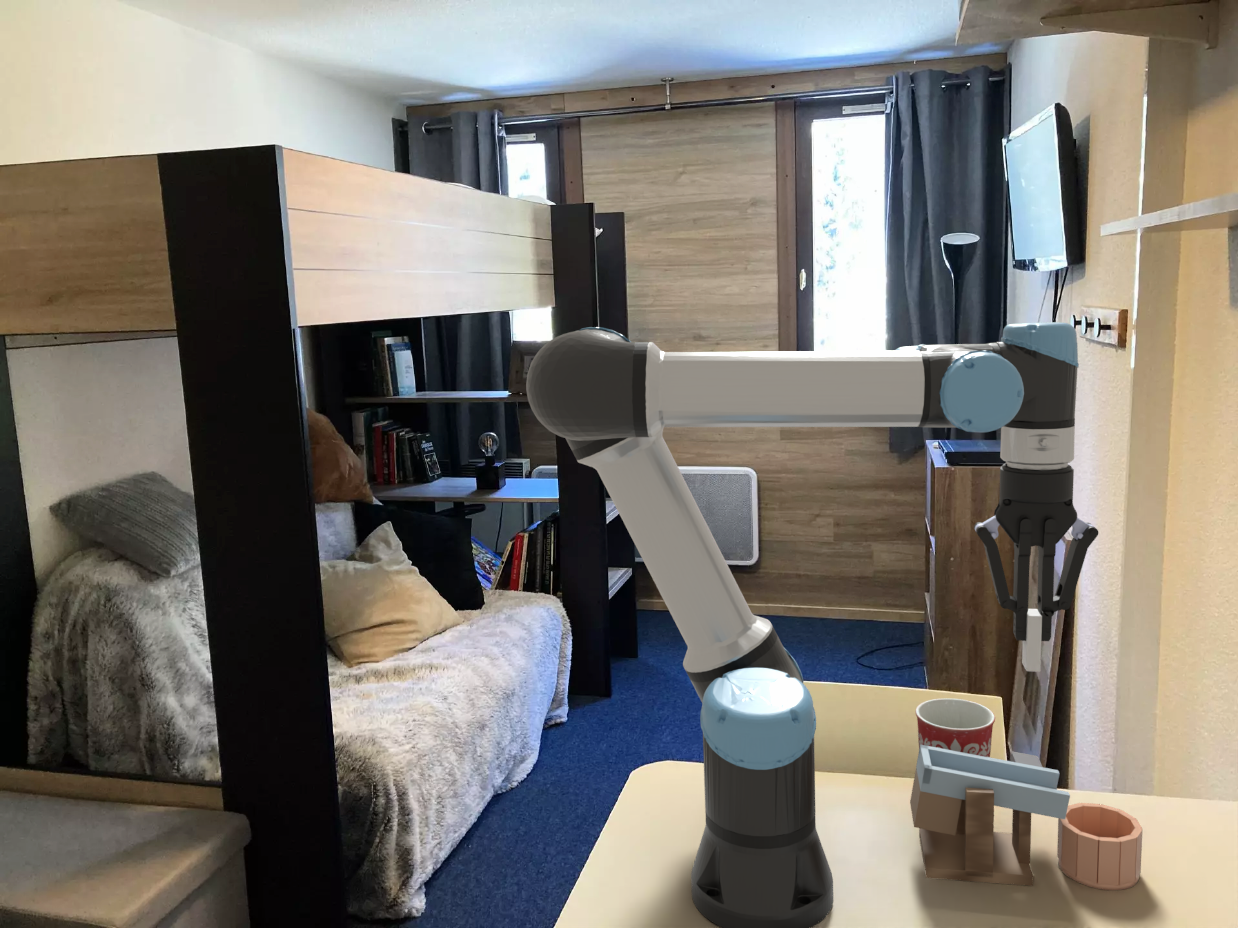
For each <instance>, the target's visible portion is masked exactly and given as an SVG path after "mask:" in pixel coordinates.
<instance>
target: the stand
mask: <svg viewBox="0 0 1238 928" xmlns="http://www.w3.org/2000/svg"><path fill="white" fill-rule="evenodd" d="M994 818H995V806H994V791H993V789H982V788H965V800H963V799H962V802H961V807H960V813H959V818H958V823H957V829H956V834H955V835H950V834H945V833H940V832H936V831H931V830H926V829H921V828H918V829H919V832H918V833H919V835H918V836H919V842H920V843H919V844H920V848H921V849H920V850H921V855H922V860H923V867H924V873H925V878H926V879H936V880H938V879H939V880H951V881H963V882H975V883H976V882H977V883H989V884H991V883H992V884H1002V885H1003V884H1005V885H1014V886H1015V885H1017V886H1028V887H1029V886H1030V887H1034V873H1033V871H1032V868H1031V865H1030V864H1031V846H1032V845H1031V842H1032V841H1031V839H1032V813H1029V812H1024V811H1019V810H1014V809H1012V823H1011V824H1012V827H1011V832H1001V831H1000V832H999V831H994V829H995V828H994V827H995V826H994V825H995V823H994V822H995V819H994Z"/></svg>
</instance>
